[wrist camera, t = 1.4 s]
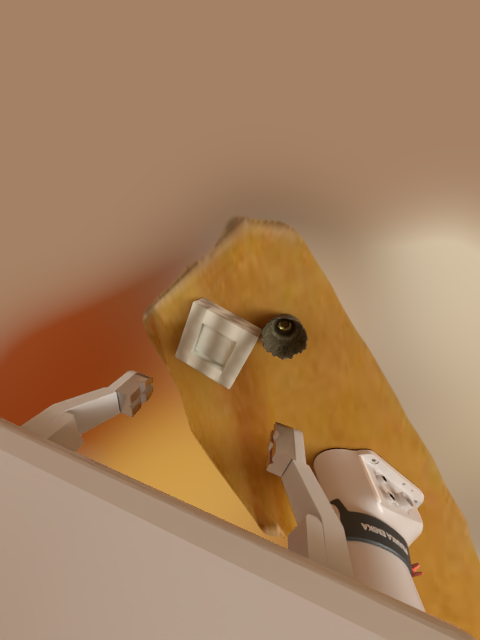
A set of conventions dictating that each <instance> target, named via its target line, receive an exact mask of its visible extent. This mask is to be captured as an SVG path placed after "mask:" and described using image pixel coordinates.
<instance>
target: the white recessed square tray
mask: <svg viewBox="0 0 480 640" xmlns="http://www.w3.org/2000/svg"><path fill="white" fill-rule="evenodd" d="M261 331H262V329H261V328H259V327H257V326H255V325H253V324H252V323H250V322H248V321H246V320H244V319H242V318H241V317H239V316H237V315H235V314H233V313H231V312H230V311H228V310H226V309H224V308H222V307H220V306H218V305H217V304H215V303H213V302H211V301H209V300H207V299H206V298H202V299H199V300H197V301H194V302H193V304H192V307H191V310H190V313H189V316H188V319H187V322H186V325H185V328H184V331H183V334H182V337H181V340H180V343H179V346H178V349H177V352H176V355H175V357H176V358H178V359H180V360H181V361H183V362H185V363H186V364H188V365H190V366H191V367H193V368H195V369H196V370H198V371H200V372H201V373H203V374H205V375H206V376H208V377H210V378H211V379H213V380H215V381H216V382H218V383H220V384H221V385H223V386H225V387H226V388H228V389H230V388H231V386H232V384H233V382H234V381H235V379H236V377H237V375H238V374H239V372H240V370H241V368H242V366H243V365H244V363H245V361H246V359H247V358H248V356H249V354H250V352H251V350H252V349H253V347H254V345H255V343H256V342H257V340H258V338H259V336H260V334H261Z"/></svg>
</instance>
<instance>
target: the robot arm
mask: <svg viewBox="0 0 480 640" xmlns="http://www.w3.org/2000/svg"><path fill="white" fill-rule="evenodd" d="M152 382H153V378H151V377H148V376H146V375H143V374H140V373H138V372H135V371H132V370H130V371H128V372H127V373H125V374H124V375H123V376H121V377H120V378H119V379H118V380H116V381H115V382H114V383H113V384H111V385H110V386H109V387H107V388H106V387H104V388H101V389H98V390H95V391H92V392H89V393H86V394H83V395H80V396H77V397H74V398H71V399H68V400H65V401H62V402H60V403H56V404H53V405H51V406H50V407H48V408H47V409H45V410H44V411H43V412H41V413H40V414H38V415H37V416H35V417H34V418H32V419H31V420H29V421H28V422H26V423H25V424H23V425H22V426H20V427H19V426H17V425H15V424H13V423H10V422H8V421H6V420H4V419H2V418H0V640H476V639H475V638H474V637H473V636H472V635H470V634H469V633H467V632H466V631H464V630H462V629H460V628H459V627H457V626H455V625H453V624H450V623H448V622H446V621H444V620H441V619H439V618H437V617H435V616H432V615H430V614H428V613H426V612H425V609H424V607H423V604H422V602H421V599H420V597H419V594H418V592H417V589H416V587H415V584H414V582H413V579H412V577H415V576H419V575H422V574H423V573H422V572H415V570H417V569H418V568H419V566H420V565H419V564H418V563H416V564H413V565H411V561H410V555H409V549H408V547H409V546H410V545H411V544H412V542H413V541H414V540H415V539H416V538H417V537H418V536H419V535H420V534H421V532H422V530H423V522H422V519H421V516H420V514H419V512H418V509H417V508H418V507H419V506H420V505H421V504H422V502H423V500H424V495H423V493H422V491H421V490H420V489H419V488H418V487H416V486H415V485H414V484H413V483H411V482H410V481H409V480H408V479H406V478H405V477H404V476H403V475H402V474H400V473H399V472H398V471H397V470H395V469H394V468H393V467H392V466H390V465H389V464H388V463H387V462H386V461H384V460H383V459H382V458H381V457H379V456H378V455H377V454H376V453H374V452H373V451H371V450H357V451H353V450H346V449H332V450H327V451H324V452H322V453H320V454H319V455H318V456H317V457H316V458H315V460H314V470H315V473H316V475H317V478H318V481H317V479H316V477H315V475H314V474H313V472H312V470H311V468H310V466H309V465H307V464H306V458H305V448H304V439H303V433H302V431H300V430H297V429H294V428H292V427H289V426H286V425H283V424H280V423H277V422H276V423H275V424H274V430H272V431H271V433H270V437H269V442H268V449H269V454H268V456H267V467H266V471H268V472H271V473H273V474H275V475H278V476H280V477H282V478H281V479H282V482H283V484H284V487H285V490H286V493H287V496H288V499H289V501H290V504H291V507H292V510H293V513H294V516H295V518H296V521H297V524H298V525H297V527H296V528H295V529H294V530H293V531H292V532H291V533H290V534H289V535H288V549H286V548H284V547H282V546H280V545H277V544H275V543H273V542H271V541H268V540H266V539H264V538H262V537H260V536H258V535H255V534H253V533H251V532H249V531H247V530H245V529H242V528H240V527H238V526H236V525H234V524H231V523H229V522H227V521H225V520H223V519H221V518H218V517H216V516H214V515H212V514H210V513H207V512H205V511H203V510H201V509H199V508H197V507H194V506H192V505H190V504H188V503H185V502H183V501H181V500H179V499H177V498H175V497H172V496H170V495H168V494H166V493H164V492H162V491H159V490H157V489H155V488H153V487H151V486H148V485H146V484H144V483H142V482H140V481H137V480H135V479H133V478H131V477H129V476H127V475H124V474H122V473H120V472H118V471H115V470H113V469H111V468H109V467H107V466H105V465H102V464H100V463H98V462H96V461H94V460H92V459H89V458H87V457H85V456H83V455H81V454H78V453H76V451H77V450H78V449H79V448H80V447H81V446H82V444H83V439H82V436H81V434H83V433H84V432H86V431H88V430H90V429H92V428H94V427H95V426H97V425H99V424H101V423H103V422H105V421H107V420H108V419H110V418H112V417H114V416H116V415H118V414H120V413H123V414H126V415H129V416H131V417H133V416H134V415H135V414H136V413H137V411H138V410H139V409H140V408H141V404H142V403H144V402H146V401H147V400H148V399H149V398H150V396H151V395H152V392H153V386H152V384H151V383H152ZM318 482H319V483H318Z"/></svg>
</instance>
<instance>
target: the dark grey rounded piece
mask: <svg viewBox="0 0 480 640" xmlns="http://www.w3.org/2000/svg"><path fill="white" fill-rule="evenodd" d="M282 321H288V322H289V326H288V327H287V328H283V327H282V326H281V322H282ZM261 335H262V338H261V342H263V347H264V348H265V349H266V350H267V352H272V355H273V356H276V355H277V356H278V357H279V358H281V359H286V358H289V359H292V358H293V355H294V354H297V353H298V352H299V353H302V351H303V350H305V349H306V341H307V340H308V338H307V335H306V331H305V329H304V327H303V325H302V324H301V322H300V321H299V320H298V319H297V318H296V317H294V316H293V315H290V314H279V315H276V316H275V317H273V318H272V319H271V320H270V321H269V322H268V323H267V324H266V325H265V327H264V328H263V330H262V332H261Z"/></svg>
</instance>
